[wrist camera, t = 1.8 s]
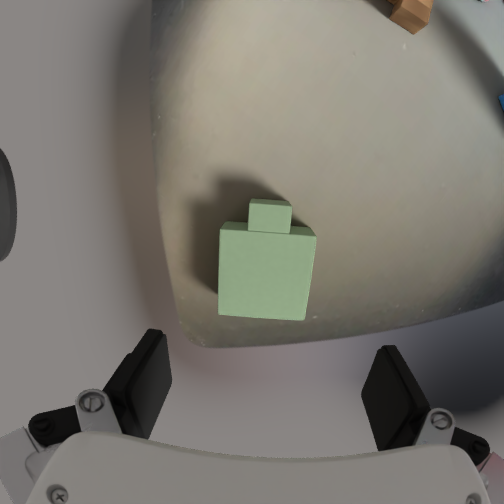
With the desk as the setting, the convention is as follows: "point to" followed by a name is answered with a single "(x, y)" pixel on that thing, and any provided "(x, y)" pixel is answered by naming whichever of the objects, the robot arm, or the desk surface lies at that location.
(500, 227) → the desk surface
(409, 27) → the cork pad
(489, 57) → the desk surface
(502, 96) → the ink box
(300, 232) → the sage pad
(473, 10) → the desk surface
